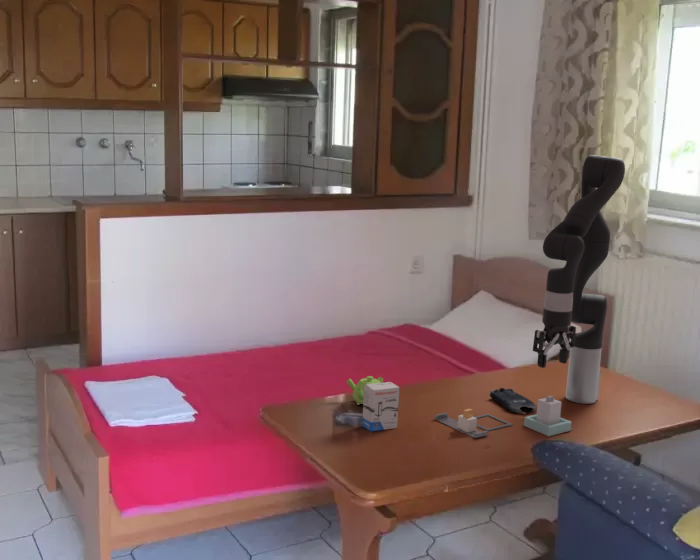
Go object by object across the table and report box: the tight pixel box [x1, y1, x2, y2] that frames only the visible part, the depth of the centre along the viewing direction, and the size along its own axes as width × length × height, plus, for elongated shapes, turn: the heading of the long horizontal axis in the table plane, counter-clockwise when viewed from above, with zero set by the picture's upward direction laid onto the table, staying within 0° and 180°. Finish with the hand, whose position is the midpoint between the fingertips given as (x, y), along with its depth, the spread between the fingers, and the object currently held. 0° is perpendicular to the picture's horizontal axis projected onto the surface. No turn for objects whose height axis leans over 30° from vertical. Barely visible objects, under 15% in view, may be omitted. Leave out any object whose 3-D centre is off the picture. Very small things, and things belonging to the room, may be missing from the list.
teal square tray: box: [523, 413, 573, 437], centre depth 224 cm, size 9×9×2 cm
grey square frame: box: [474, 413, 513, 432], centre depth 227 cm, size 10×10×1 cm
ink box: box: [361, 381, 400, 433], centre depth 218 cm, size 9×5×12 cm, turn 117°
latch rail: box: [434, 411, 489, 439], centre depth 222 cm, size 4×17×1 cm, turn 35°
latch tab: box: [457, 408, 478, 432], centre depth 219 cm, size 3×4×6 cm
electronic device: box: [489, 387, 536, 415], centre depth 242 cm, size 9×6×15 cm
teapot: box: [346, 375, 384, 404], centre depth 236 cm, size 11×12×8 cm
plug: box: [536, 395, 563, 426], centre depth 224 cm, size 4×4×9 cm
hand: (552, 364), depth 222 cm, fingers open, 8 cm apart
